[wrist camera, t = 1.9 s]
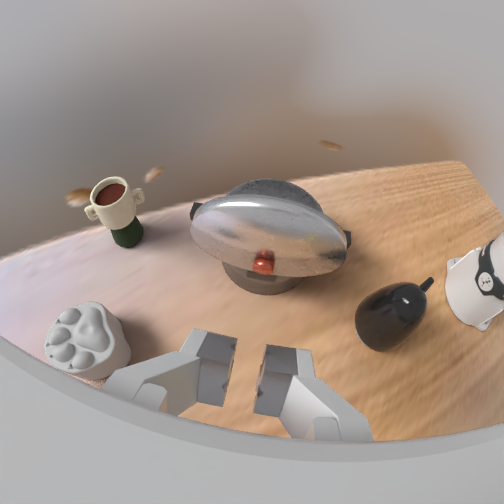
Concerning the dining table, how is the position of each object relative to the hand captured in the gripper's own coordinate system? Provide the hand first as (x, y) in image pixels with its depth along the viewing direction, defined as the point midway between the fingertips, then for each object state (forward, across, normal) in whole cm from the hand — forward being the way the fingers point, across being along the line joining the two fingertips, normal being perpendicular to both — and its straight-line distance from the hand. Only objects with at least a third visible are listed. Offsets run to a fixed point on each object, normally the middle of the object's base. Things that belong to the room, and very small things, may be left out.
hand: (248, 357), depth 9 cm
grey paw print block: (+26, +25, +25) cm, 44 cm away
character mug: (+42, +27, +8) cm, 51 cm away
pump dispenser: (+36, -21, +15) cm, 44 cm away
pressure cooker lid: (+22, 0, 0) cm, 22 cm away
